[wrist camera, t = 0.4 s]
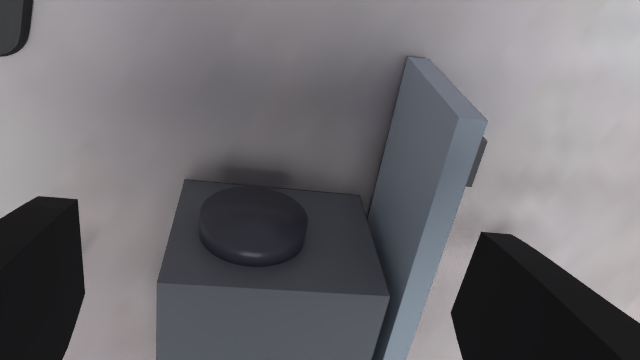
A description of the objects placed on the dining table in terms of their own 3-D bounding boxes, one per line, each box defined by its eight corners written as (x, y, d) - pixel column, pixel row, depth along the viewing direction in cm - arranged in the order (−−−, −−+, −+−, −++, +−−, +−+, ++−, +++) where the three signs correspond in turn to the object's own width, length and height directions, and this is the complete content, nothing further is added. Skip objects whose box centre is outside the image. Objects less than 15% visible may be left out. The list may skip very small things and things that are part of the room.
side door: (366, 360, 26) (391, 477, 21) (327, 358, 26) (343, 477, 21) (453, 60, 19) (526, 128, 13) (400, 53, 18) (454, 119, 13)
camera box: (323, 349, 25) (340, 484, 20) (178, 343, 24) (152, 484, 19) (362, 178, 21) (400, 290, 15) (185, 161, 20) (153, 275, 14)
